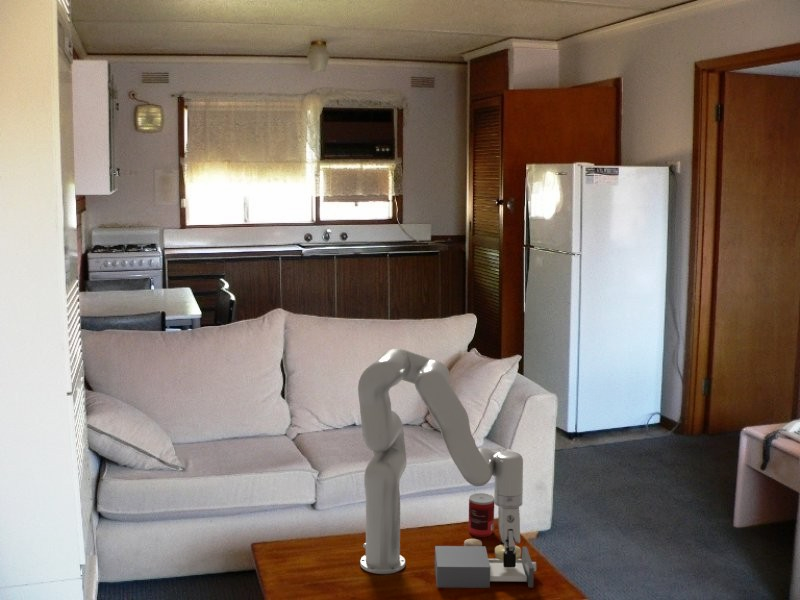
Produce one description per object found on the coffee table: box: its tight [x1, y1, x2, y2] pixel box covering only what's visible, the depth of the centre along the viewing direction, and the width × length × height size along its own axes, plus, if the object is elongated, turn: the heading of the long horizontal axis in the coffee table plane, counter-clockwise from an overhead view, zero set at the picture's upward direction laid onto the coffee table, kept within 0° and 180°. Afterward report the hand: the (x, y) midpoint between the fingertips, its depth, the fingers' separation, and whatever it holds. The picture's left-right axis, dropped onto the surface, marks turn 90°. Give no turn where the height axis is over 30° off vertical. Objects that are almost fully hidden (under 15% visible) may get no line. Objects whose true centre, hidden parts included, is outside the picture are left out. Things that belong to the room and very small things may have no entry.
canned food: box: [468, 492, 495, 538], centre depth 282 cm, size 8×8×11 cm
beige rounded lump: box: [463, 538, 483, 546], centre depth 265 cm, size 5×5×4 cm
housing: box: [434, 545, 491, 589], centre depth 253 cm, size 14×13×6 cm
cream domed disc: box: [494, 544, 522, 561], centre depth 252 cm, size 7×7×2 cm
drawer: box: [488, 546, 537, 588], centre depth 253 cm, size 16×14×5 cm
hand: (507, 560), depth 253 cm, fingers closed on cream domed disc, 7 cm apart
